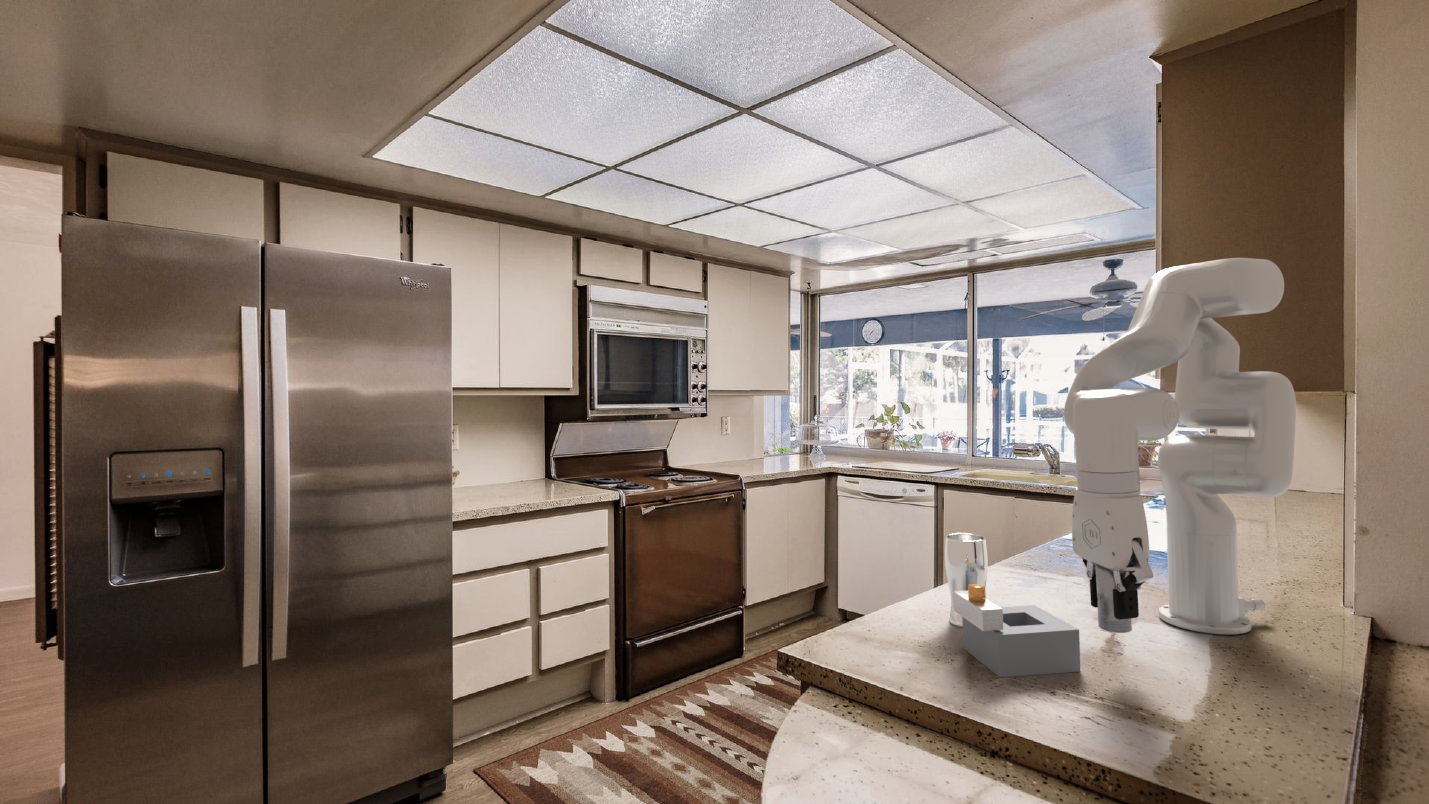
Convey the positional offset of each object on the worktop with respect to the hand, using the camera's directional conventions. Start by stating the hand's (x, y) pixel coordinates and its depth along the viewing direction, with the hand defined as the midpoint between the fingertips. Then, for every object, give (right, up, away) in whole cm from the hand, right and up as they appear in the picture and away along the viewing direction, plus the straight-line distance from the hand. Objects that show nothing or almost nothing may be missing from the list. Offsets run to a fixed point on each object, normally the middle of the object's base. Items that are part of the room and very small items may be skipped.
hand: (1114, 610), depth 91 cm
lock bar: (-17, -3, +6) cm, 18 cm away
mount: (-10, -9, +7) cm, 15 cm away
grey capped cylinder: (0, -2, 0) cm, 2 cm away
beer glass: (-12, -9, +23) cm, 27 cm away
